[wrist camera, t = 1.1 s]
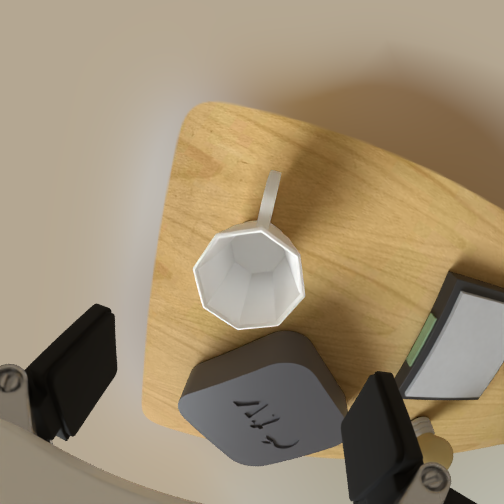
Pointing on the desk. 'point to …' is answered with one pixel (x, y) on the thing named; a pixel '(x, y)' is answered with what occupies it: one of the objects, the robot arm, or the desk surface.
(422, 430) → the light bulb
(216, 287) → the cup
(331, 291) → the desk surface
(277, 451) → the streaming box
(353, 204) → the desk surface
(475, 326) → the scale
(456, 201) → the desk surface
